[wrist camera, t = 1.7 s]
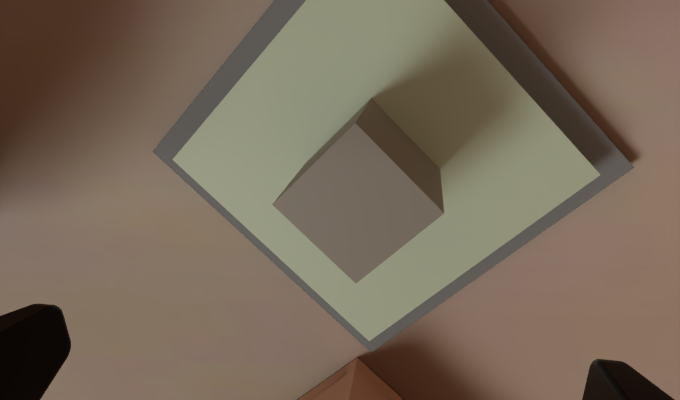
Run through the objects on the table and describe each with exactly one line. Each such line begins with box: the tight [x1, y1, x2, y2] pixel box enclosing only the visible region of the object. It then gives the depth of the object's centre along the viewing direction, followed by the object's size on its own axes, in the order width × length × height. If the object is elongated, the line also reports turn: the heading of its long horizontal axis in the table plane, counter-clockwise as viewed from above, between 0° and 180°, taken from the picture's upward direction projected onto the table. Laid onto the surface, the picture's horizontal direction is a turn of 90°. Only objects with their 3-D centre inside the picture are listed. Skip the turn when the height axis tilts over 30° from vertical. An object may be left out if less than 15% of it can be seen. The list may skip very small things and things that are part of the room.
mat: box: [153, 0, 634, 352], centre depth 18 cm, size 13×13×1 cm
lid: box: [172, 0, 600, 341], centre depth 16 cm, size 11×11×5 cm
